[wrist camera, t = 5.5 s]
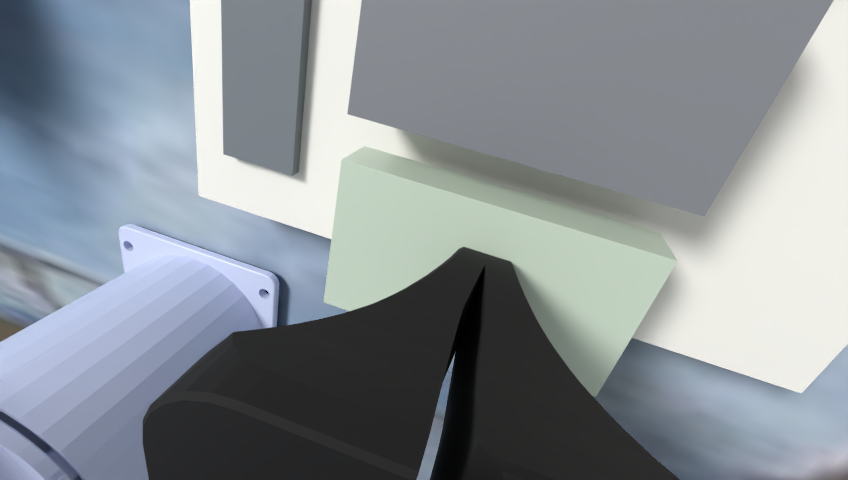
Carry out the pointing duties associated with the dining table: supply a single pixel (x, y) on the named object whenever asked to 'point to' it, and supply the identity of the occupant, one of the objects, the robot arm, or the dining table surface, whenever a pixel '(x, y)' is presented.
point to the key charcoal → (585, 83)
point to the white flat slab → (556, 180)
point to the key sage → (496, 252)
